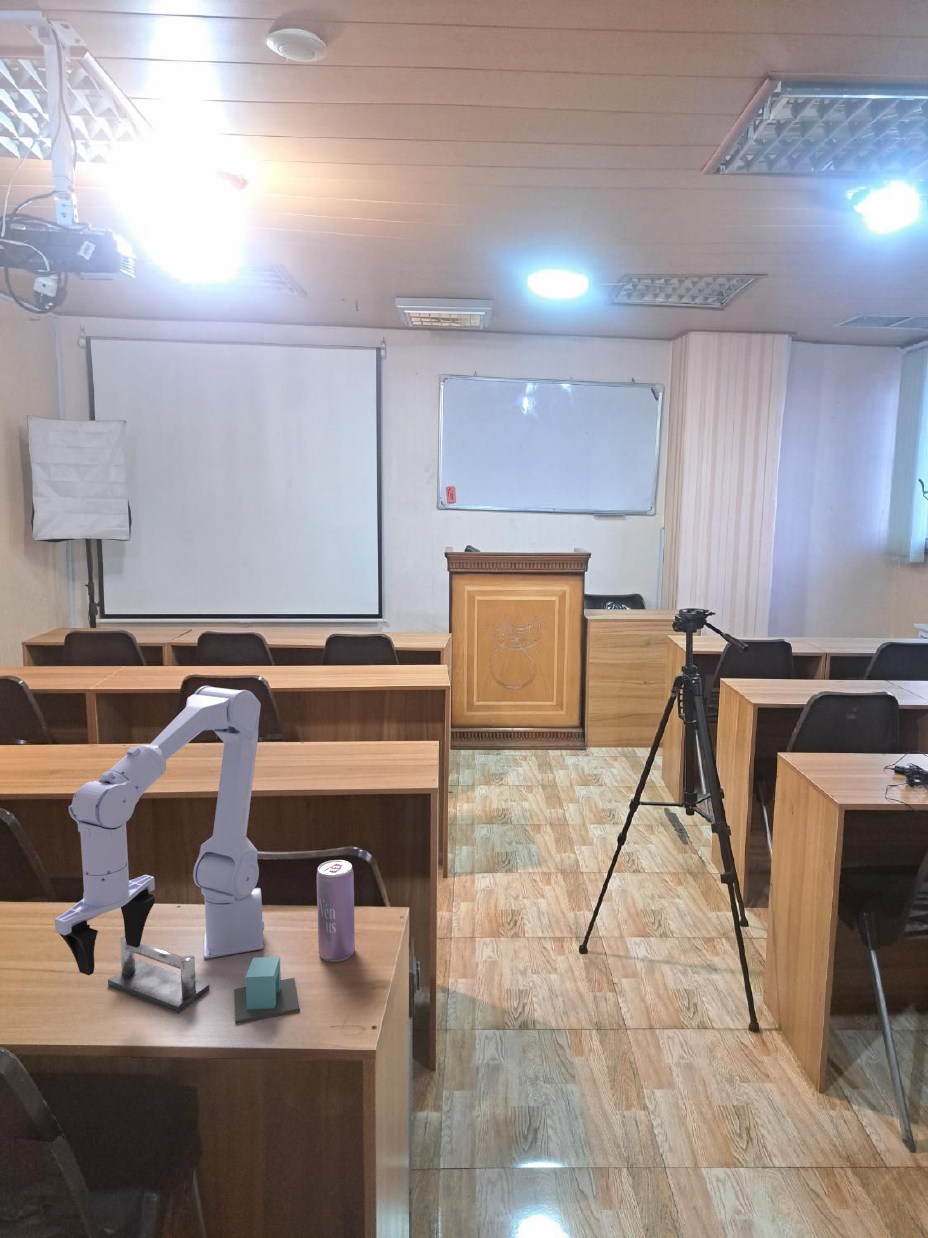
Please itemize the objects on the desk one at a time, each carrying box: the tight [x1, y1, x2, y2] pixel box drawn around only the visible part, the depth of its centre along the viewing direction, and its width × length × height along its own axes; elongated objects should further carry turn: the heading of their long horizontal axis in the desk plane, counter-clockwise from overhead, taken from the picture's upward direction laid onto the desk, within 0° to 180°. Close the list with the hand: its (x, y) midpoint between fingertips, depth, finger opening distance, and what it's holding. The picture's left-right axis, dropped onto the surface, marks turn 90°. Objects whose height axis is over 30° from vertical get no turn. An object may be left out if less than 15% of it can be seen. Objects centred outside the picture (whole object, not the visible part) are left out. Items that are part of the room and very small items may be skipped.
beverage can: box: [316, 859, 356, 963], centre depth 122 cm, size 6×6×15 cm
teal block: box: [245, 956, 282, 1009], centre depth 110 cm, size 5×4×5 cm
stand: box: [107, 935, 210, 1014], centre depth 113 cm, size 6×15×6 cm, turn 64°
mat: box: [233, 977, 301, 1025], centre depth 110 cm, size 9×8×1 cm
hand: (110, 958), depth 105 cm, fingers open, 7 cm apart
